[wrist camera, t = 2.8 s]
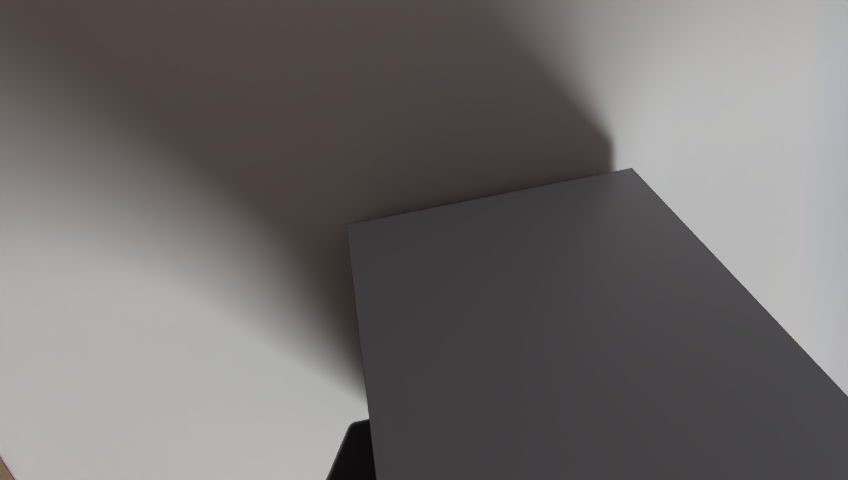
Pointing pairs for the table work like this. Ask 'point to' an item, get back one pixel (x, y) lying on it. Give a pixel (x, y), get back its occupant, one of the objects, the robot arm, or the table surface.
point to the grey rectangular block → (578, 347)
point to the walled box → (4, 472)
